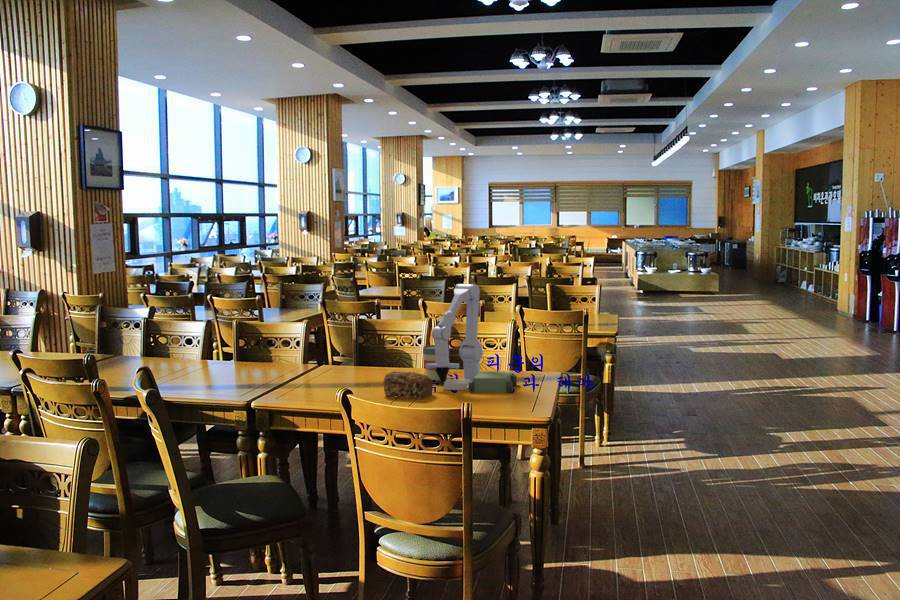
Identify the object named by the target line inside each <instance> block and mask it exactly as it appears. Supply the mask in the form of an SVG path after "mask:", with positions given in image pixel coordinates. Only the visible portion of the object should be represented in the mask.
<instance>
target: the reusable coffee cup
mask: <svg viewBox="0 0 900 600" xmlns="http://www.w3.org/2000/svg"><path fill="white" fill-rule="evenodd" d="M448 352H449V353H450V352H451V351H450V345H448ZM422 354H423V363H424V370H425V371H426V375H427V376H428V377H430V378H431V379H432V380H439V381H440V378H439V376H438V374H437V372H436V368H428V369H426V364H427V363H436V355H435V344H430V345H428V344H427V345H425V346H423V347H422ZM446 378H447V379H448V376H447V377H446Z"/></svg>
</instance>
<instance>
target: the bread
mask: <svg viewBox="0 0 900 600" xmlns="http://www.w3.org/2000/svg"><path fill="white" fill-rule="evenodd" d="M382 384H383V391H384V395H385V396H386V395H390V396H389V397H393V396H397V397H396V398H400V397H403V398H402V399H415V398H416V399H415V400H419V399H425V398H426V397H429V396H432V395H433V391H434V389H433V387H434V386H433V381H432V379H431V378H430V377H428V376H427V374H422V373H418V372H411V371H391V372H389V373H386V374H385V376H384V379H383V382H382Z"/></svg>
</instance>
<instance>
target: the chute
mask: <svg viewBox="0 0 900 600" xmlns="http://www.w3.org/2000/svg"><path fill="white" fill-rule="evenodd" d="M469 381H470V380H463V379H449V378H447V379H446V381H445V382H444V385H443V390H447V391H451V390H453V391H467V390H469V388H468V386H469Z"/></svg>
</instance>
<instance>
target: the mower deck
mask: <svg viewBox="0 0 900 600" xmlns="http://www.w3.org/2000/svg"><path fill="white" fill-rule="evenodd" d="M516 385H517V386H518V376H517V375H515V374H512V371H480V372H479V373H478V374H477V375H475V377H474V381H469V386H468V392H469V393H506V392H507V393H513V390H514V387H517V386H516Z"/></svg>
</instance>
